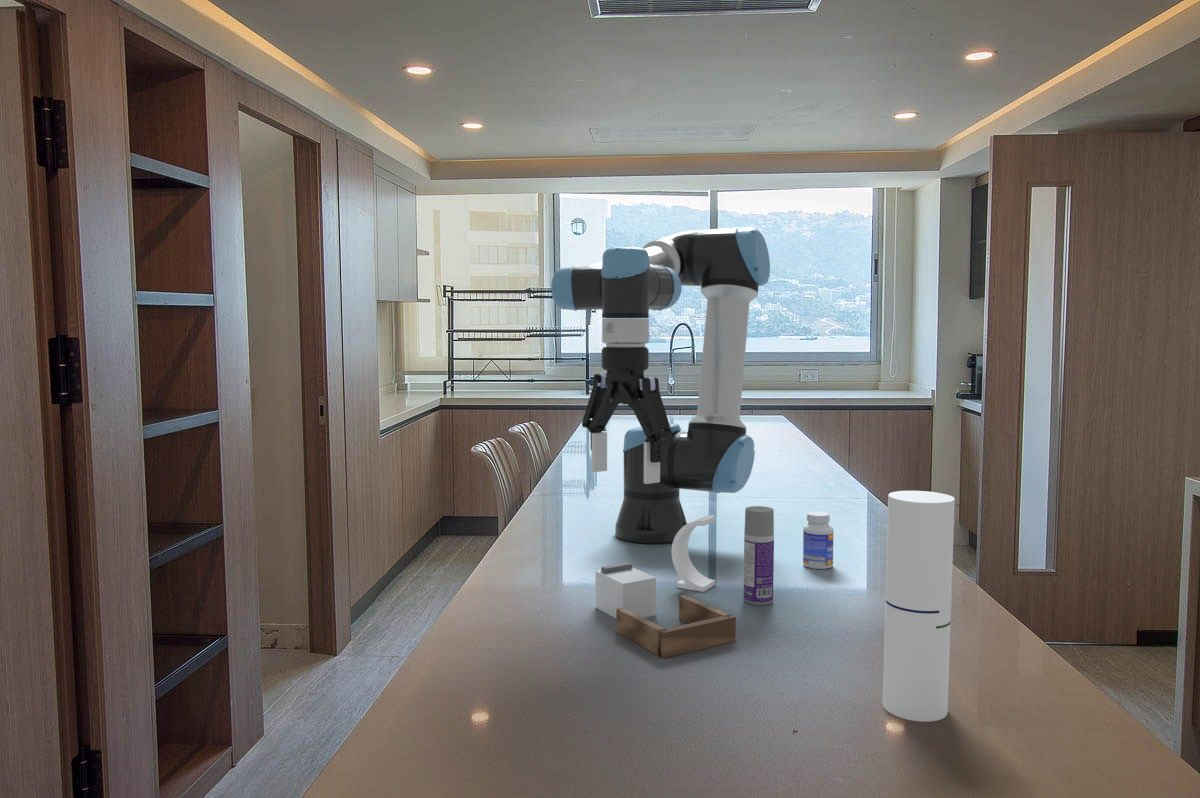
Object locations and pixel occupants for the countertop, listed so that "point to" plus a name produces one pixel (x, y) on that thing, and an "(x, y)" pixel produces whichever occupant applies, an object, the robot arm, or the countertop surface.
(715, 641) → the bay
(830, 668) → the countertop surface
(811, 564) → the pill bottle
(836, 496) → the countertop surface
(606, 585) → the matte white cube
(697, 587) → the headphone stand
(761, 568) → the container
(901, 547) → the cylindrical container
